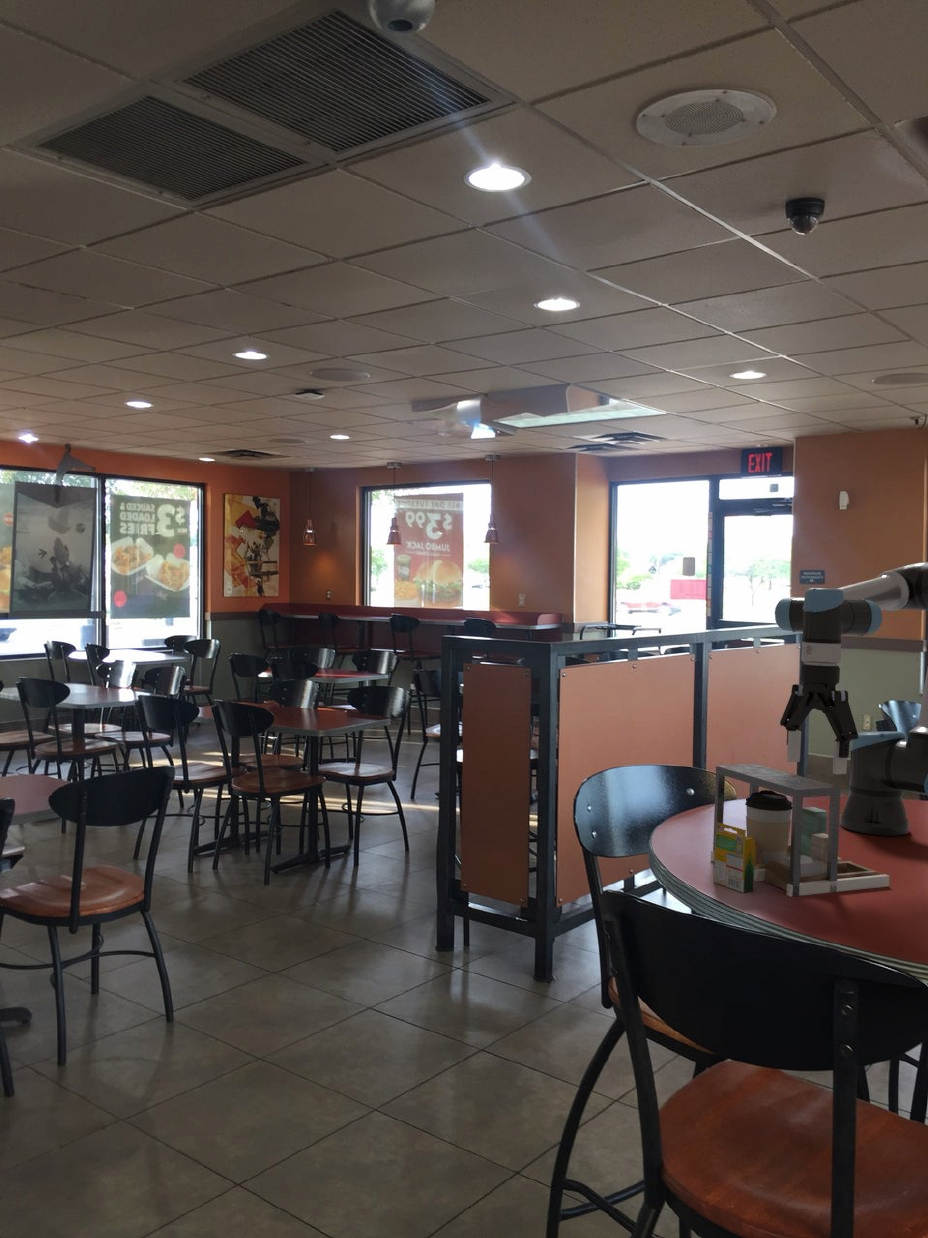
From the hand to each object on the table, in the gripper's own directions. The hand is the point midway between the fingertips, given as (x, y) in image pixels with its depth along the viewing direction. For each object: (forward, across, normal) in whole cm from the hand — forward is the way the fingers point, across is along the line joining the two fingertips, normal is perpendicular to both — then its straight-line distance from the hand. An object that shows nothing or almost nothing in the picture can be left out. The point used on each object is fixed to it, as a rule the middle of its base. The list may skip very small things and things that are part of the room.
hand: (815, 767), depth 201 cm
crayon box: (+20, +9, -26) cm, 34 cm away
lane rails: (+20, +5, -8) cm, 22 cm away
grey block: (+20, +12, -12) cm, 26 cm away
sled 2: (+20, +12, -8) cm, 24 cm away
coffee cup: (+20, 0, -11) cm, 23 cm away
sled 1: (+20, 0, -8) cm, 21 cm away
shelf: (+20, +5, -14) cm, 25 cm away
